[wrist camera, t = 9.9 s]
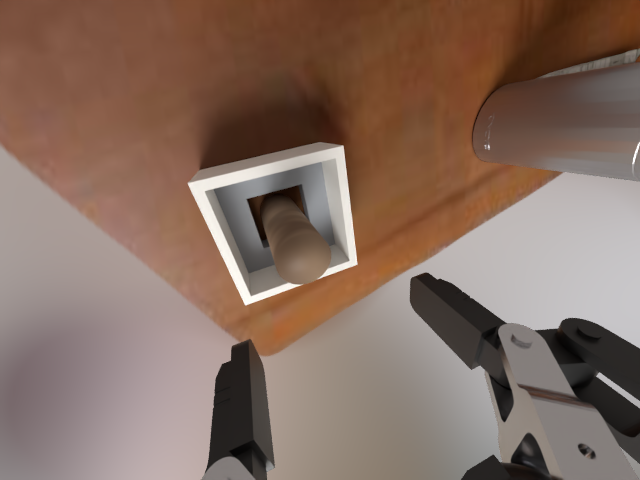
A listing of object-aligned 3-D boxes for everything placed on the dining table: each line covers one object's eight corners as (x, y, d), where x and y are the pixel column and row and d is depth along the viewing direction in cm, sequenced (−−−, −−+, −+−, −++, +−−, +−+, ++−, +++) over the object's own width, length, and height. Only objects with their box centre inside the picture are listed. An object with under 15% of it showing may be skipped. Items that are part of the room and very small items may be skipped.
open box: (319, 141, 23) (343, 145, 18) (335, 240, 29) (357, 264, 24) (199, 170, 21) (187, 183, 16) (243, 271, 27) (245, 305, 22)
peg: (291, 189, 24) (326, 226, 15) (299, 222, 26) (335, 273, 17) (255, 199, 24) (268, 245, 14) (266, 232, 26) (284, 292, 16)
